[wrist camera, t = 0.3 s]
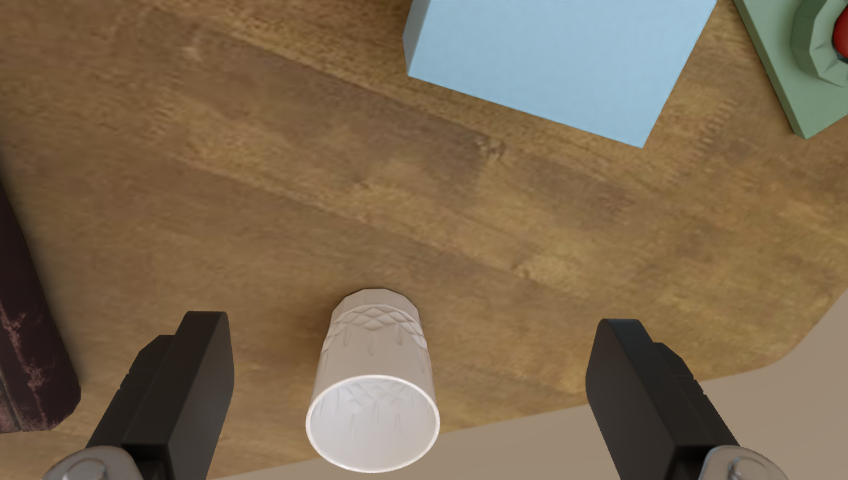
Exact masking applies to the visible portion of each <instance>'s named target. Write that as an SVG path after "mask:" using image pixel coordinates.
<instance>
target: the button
mask: <svg viewBox="0 0 848 480" xmlns="http://www.w3.org/2000/svg"><path fill="white" fill-rule="evenodd" d="M833 41H834V45H835V48H836V50H837V51H838V53H839V54H841V55H842V56H843V57H845V58H848V6H847V7H846V8H845V9H844V10H843V12H842V13H841V15H840V16H839V18H838V20H837V22H836V25H835V28H834V33H833Z"/></svg>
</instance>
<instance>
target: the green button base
mask: <svg viewBox="0 0 848 480" xmlns="http://www.w3.org/2000/svg"><path fill="white" fill-rule="evenodd" d="M734 2H735V5H736V7H737V9H738V11H739V13H740V15H741V18H742V20H743V22H744V24H745V26H746V29H747V31H748V33H749V35H750V37H751V39H752V42H753V44H754V46H755V48H756V50H757V52H758V55H759V57H760V59H761V61H762V63H763V66H764V68H765V70H766V72H767V74H768V76H769V79H770V81H771V83H772V85H773V87H774V90H775V92H776V94H777V96H778V98H779V100H780V103H781V105H782V107H783V109H784V111H785V113H786V116H787V118H788V120H789V122H790V124H791V127H792V129H793V131H794V133H795V135H797V136H799V137H801V138H803V139H805V140H807V139H809V138H810V137H812V136H814V135H815V134H817V133H818V132H820V131H822V130H823V129H825V128H826V127H828V126H830V125H831V124H833V123H834V122H836V121H838V120H839V119H841V118H842V117H844V116H846V115H847V114H848V58H845V57H843V56H842V55H841V54H839V53H838V51H837V50H836V48H835V45H834V41H833V33H834V28H835V25H836V22H837V20H838V18H839V16H840V15H841V13H842V12H843V10H844V9H845V8H846V7H847V6H848V0H734Z"/></svg>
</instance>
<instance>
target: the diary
mask: <svg viewBox="0 0 848 480" xmlns="http://www.w3.org/2000/svg"><path fill="white" fill-rule="evenodd" d="M80 400H81V388H80V385H79V382H78V380H77V377H76V375H75V373H74V370H73V368H72V365H71V363H70V361H69V358H68V356H67V354H66V351H65V349H64V346H63V344H62V342H61V339H60V337H59V335H58V332H57V330H56V327H55V325H54V323H53V320H52V318H51V315H50V312H49V310H48V307H47V304H46V301H45V298H44V295H43V293H42V290H41V287H40V284H39V281H38V278H37V275H36V273H35V270H34V267H33V264H32V261H31V258H30V256H29V253H28V250H27V247H26V244H25V241H24V239H23V236H22V234H21V231H20V229H19V226H18V224H17V222H16V219H15V217H14V215H13V212H12V210H11V207H10V205H9V203H8V200H7V198H6V196H5V193H4V191H3V188H2V186H1V184H0V434H2V433H12V432H19V431H21V430H22V431H23V432H25V431H43V430H51V429H53V428H55V427H56V426H57V425H59V424H60V423H61V422H62V421H63V420H65V419H66V418H67V417H68V416H69V415H71V414H72V413H73V411H74V410H75V408H76V407H77V405H78V403H79V402H80Z"/></svg>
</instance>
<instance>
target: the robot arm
mask: <svg viewBox="0 0 848 480" xmlns="http://www.w3.org/2000/svg"><path fill="white" fill-rule="evenodd" d="M233 387H234V364H233V355H232V347H231V338H230V330H229V322H228V316H227V314H226V312H218V311H188V312H187V313H186V314H185V316H184V318H183V320H182V322H181V324H180V326H179V328H178V330H177V332H176V334H175V335H159V336H158V337H156V338H155V339H154V340H153V341H152V342H150V343H149V344H148V345H147V346H145V347H144V348H143V349H142V350H141V351H140V352H139V353H138V355H137V357H136V359H135V361H134V362H133V364H132V366H131V368H130V369H129V374H127V375H126V376H125V378H124V380H123V382H122V384H121V385H120V390H118V391H117V392H116V394H115V396H114V398H113V399H112V401H111V403H110V405H109V407H108V408H107V410H106V412H105V414H104V415H103V417H102V419H101V421H100V422H99V424H98V426H97V428H96V430H95V431H94V433H93V435H92V437H91V438H90V440H89V442H88V444H87V445H86V447H85V449H82V450H80V451H77V452H75V453H73V454H71V455H69V456H67V457H65V458H63V459H62V460H60V461H59V462H57V463H56V464H55V465H54V466H52V467H51V468H50V469H49V470H48V471H47V472H46V474H45V475H44V476H43V477H42V479H41V480H205V479H206V476H207V473H208V470H209V467H210V463H211V460H212V457H213V454H214V451H215V448H216V445H217V442H218V439H219V435H220V432H221V429H222V426H223V423H224V420H225V417H226V414H227V410H228V407H229V404H230V401H231V398H232V393H233ZM586 394H587V398H588V401H589V404H590V406H591V409H592V411H593V414H594V416H595V419H596V421H597V423H598V426H599V428H600V431H601V433H602V435H603V438H604V440H605V442H606V445H607V447H608V450H609V452H610V455H611V457H612V459H613V462H614V464H615V467H616V469H617V472H618V474H619V476H620V479H621V480H788V478H787V477H786V475H785V474H784V473H783V472H782V470H780V468H779V467H777V465H775V464H774V463H773V462H772V461H770V460H769V459H767V458H766V457H764V456H763V455H761V454H759V453H757V452H755V451H752V450H750V449H747V448H744V447H740V445H739V444H738V442H737V441H736V439H735V438H734V436H733V435H732V433H731V432H730V430H729V429H728V427H727V426H726V424H725V423H724V421H723V420H722V418H721V417H720V415H719V414H718V412H717V411H716V409H715V408H714V406H713V405H712V403H711V402H710V400H709V399H708V397H707V396H706V395H704V394H703V390H702V388H701V387H700V385H699V384H698V382H697V381H696V380H694V379H693V375H692V373H691V372H690V370H689V369H688V367H687V366H686V364H685V363H684V361H683V360H682V358H681V357H679V356H678V355H677V354H676V353H674V352H673V351H672V350H671V349H669V348H668V347H667V346H666V345H664V344H663V343H656V342H653V341H652V340H651V338H650V337H649V335H648V333H647V332H646V330H645V329H644V327H643V325H642V324H641V322H640V321H639V320H637V319H602V320H601V321H600V322H599V324H598V327H597V331H596V335H595V339H594V343H593V347H592V351H591V356H590V360H589V364H588V368H587V372H586Z"/></svg>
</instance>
